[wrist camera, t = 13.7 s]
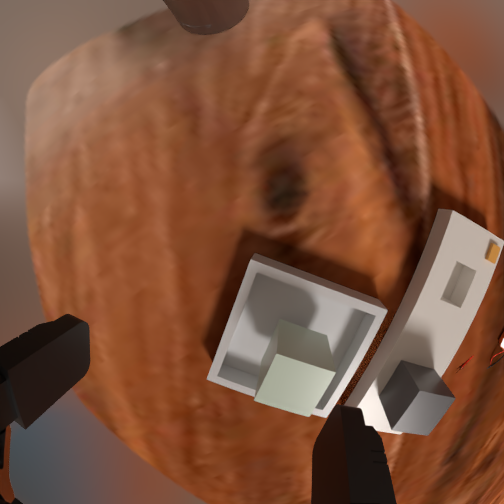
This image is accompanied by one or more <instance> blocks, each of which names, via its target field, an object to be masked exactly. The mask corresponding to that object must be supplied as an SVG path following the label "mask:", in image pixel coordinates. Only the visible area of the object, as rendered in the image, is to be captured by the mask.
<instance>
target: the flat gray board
mask: <svg viewBox="0 0 504 504" xmlns="http://www.w3.org/2000/svg"><path fill="white" fill-rule="evenodd" d="M503 244H504V241H503V240H501V239H500V238H498V237H497V236H495V235H493V234H492V233H490V232H489V231H487V230H486V229H484V228H482V227H481V226H479V225H477V224H476V223H474V222H472V221H471V220H469V219H467V218H466V217H464V216H462V215H461V214H459V213H457V212H455V211H454V210H447V209H438V212H437V215H436V218H435V221H434V223H433V226H432V229H431V232H430V235H429V237H428V240H427V243H426V245H425V248H424V251H423V253H422V256H421V258H420V261H419V263H418V265H417V268H416V270H415V273H414V275H413V277H412V280H411V282H410V284H409V286H408V289H407V291H406V293H405V295H404V297H403V300H402V302H401V304H400V306H399V308H398V310H397V312H396V314H395V316H394V318H393V320H392V322H391V324H390V326H389V328H388V330H387V332H386V334H385V336H384V338H383V340H382V342H381V343H380V345H379V347H378V349H377V351H376V353H375V354H374V356H373V358H372V360H371V361H370V363H369V365H368V367H367V368H366V370H365V372H364V373H363V375H362V377H361V378H360V380H359V382H358V383H357V385H356V387H355V388H354V390H353V391H352V393H351V395H350V396H349V398H348V399H347V401H346V402H345V404H344V405H345V406H350V407H357V408H361V409H362V412H363V416H364V420H365V425H368V426H373V427H374V429H375V430H376V431H382V432H388V433H394V434H401V433H402V432H399V431H393V430H391V428H390V425H389V422H388V420H387V417H386V414H385V412H384V409H383V406H382V404H381V401H380V399H379V395H380V393H381V392H382V390H383V389H384V387H385V386H386V384H387V382H388V381H389V379H390V378H391V376H392V374H393V373H394V371H395V369H396V368H397V366H398V364H399V363H400V361H401V360H403V361H407V362H410V363H414V364H417V365H421V366H424V367H428V368H431V369H435V371H436V372H437V373H438V375H439V376H440V377H442V375H443V374H444V372H445V370H446V369H447V367H448V365H449V364H450V362H451V360H452V358H453V357H454V355H455V353H456V351H457V350H458V348H459V346H460V344H461V342H462V340H463V339H464V337H465V335H466V333H467V331H468V329H469V327H470V325H471V323H472V321H473V319H474V317H475V315H476V313H477V310H478V308H479V306H480V304H481V302H482V299H483V297H484V295H485V292H486V290H487V288H488V285H489V283H490V280H491V278H492V275H493V273H494V270H495V267H496V265H497V262H498V259H499V256H500V253H501V250H502V247H503Z"/></svg>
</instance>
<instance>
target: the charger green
mask: <svg viewBox="0 0 504 504" xmlns="http://www.w3.org/2000/svg"><path fill="white" fill-rule="evenodd" d="M335 374H336V370H335V366H334V362H333V357H332V353H331V349H330V345H329V341H328V337H327V335H325V334H322V333H319V332H316V331H313V330H310V329H307V328H304V327H302V326H299V325H296V324H293V323H290V322H287V321H285V320H282V319H279V321H278V324H277V326H276V328H275V331H274V333H273V335H272V338H271V340H270V342H269V344H268V347H267V349H266V351H265V353H264V356H263V358H262V360H261V366H260V371H259V376H258V382H257V387H256V392H255V397H254V401H257V402H260V403H263V404H266V405H269V406H273V407H276V408H279V409H283V410H286V411H289V412H293V413H296V414H300V415H304V416H307V417H310V415H311V413H312V412H313V410H314V409H315V407H316V406H317V404H318V402H319V401H320V399H321V397H322V396H323V394H324V392H325V391H326V389H327V387H328V386H329V384H330V382H331V381H332V379H333V377H334V375H335Z"/></svg>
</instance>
